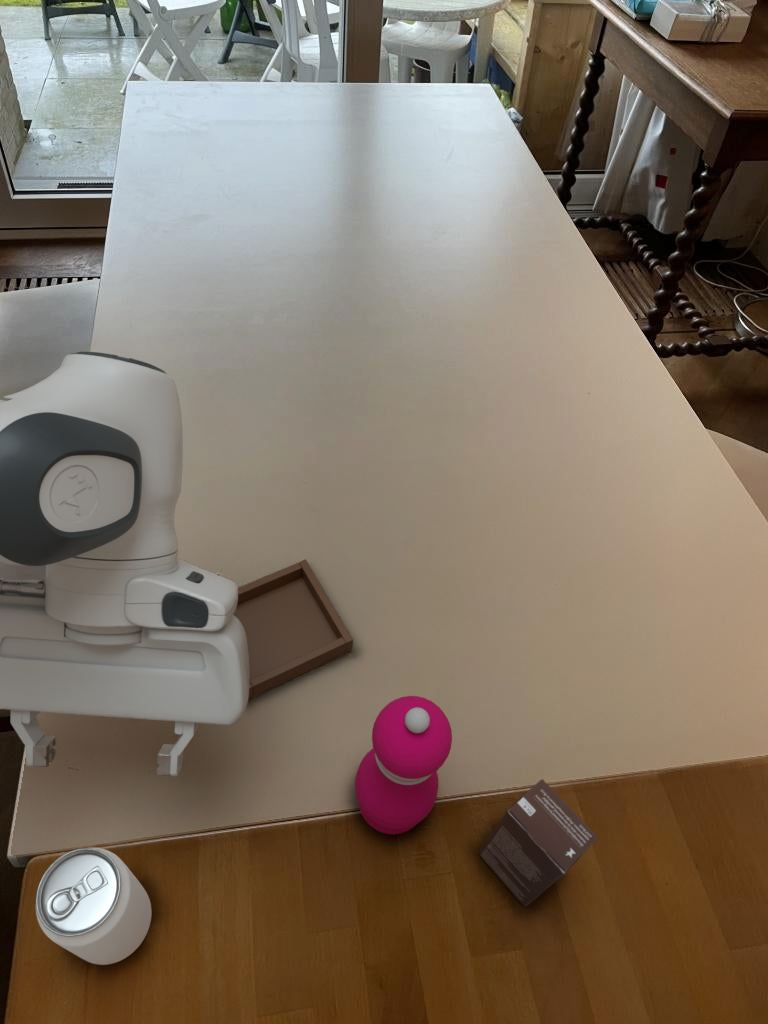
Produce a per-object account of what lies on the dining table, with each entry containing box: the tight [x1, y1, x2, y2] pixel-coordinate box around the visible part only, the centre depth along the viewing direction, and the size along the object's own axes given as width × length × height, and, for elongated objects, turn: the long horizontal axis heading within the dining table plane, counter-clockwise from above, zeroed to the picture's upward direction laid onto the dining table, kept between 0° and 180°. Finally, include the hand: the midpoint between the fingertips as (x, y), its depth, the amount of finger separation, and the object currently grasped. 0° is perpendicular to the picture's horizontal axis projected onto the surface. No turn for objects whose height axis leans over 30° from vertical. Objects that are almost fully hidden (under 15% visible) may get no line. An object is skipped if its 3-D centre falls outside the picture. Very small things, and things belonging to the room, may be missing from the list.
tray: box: [233, 559, 354, 701], centre depth 79 cm, size 12×11×2 cm
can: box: [35, 847, 152, 966], centre depth 59 cm, size 6×6×12 cm
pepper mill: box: [354, 695, 453, 835], centre depth 63 cm, size 7×7×20 cm
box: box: [477, 778, 598, 908], centre depth 64 cm, size 6×4×12 cm
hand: (105, 767), depth 58 cm, fingers open, 8 cm apart
